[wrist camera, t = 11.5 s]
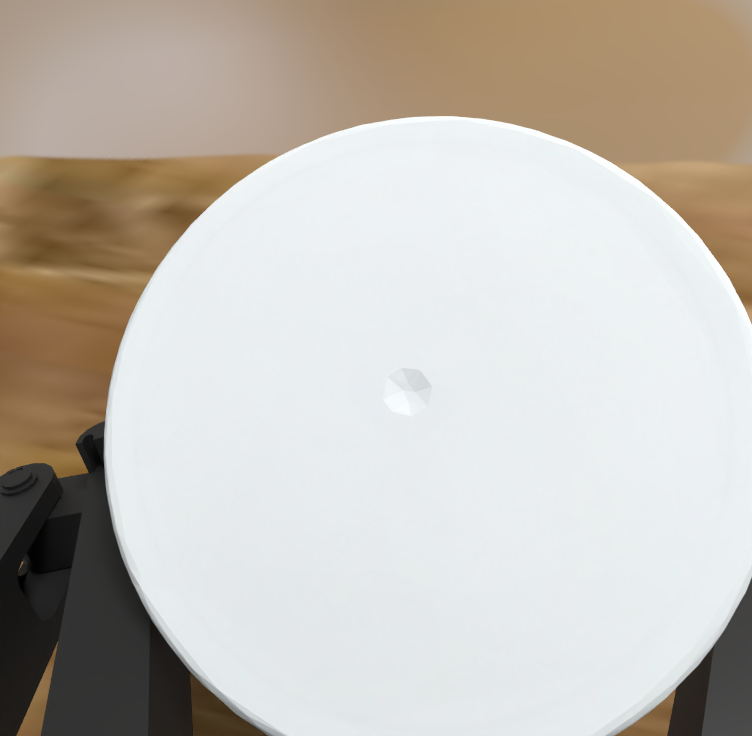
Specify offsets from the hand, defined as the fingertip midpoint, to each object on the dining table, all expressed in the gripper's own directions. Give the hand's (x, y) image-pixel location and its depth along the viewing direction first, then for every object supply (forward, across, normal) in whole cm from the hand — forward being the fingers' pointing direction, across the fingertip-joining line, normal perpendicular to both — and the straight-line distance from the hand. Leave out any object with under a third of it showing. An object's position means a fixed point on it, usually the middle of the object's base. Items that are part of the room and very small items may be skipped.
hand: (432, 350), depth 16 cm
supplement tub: (+2, 0, -7) cm, 7 cm away
